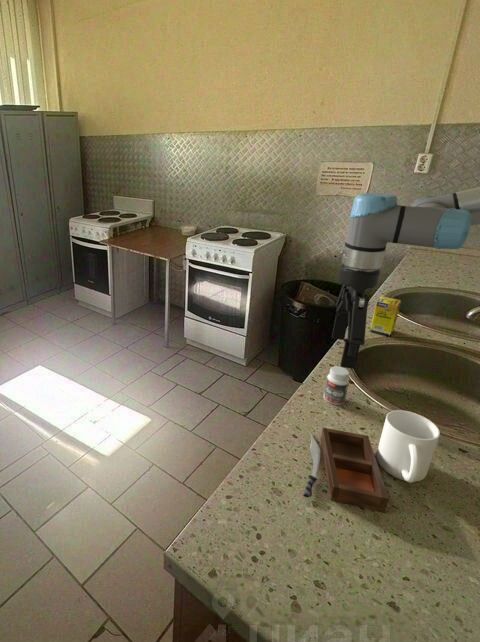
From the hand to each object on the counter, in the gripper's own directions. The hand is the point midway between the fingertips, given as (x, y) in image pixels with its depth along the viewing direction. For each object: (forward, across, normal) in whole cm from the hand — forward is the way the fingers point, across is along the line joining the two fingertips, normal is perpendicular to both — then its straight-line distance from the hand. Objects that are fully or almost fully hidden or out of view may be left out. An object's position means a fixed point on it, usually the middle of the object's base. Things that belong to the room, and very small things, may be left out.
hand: (342, 352), depth 93 cm
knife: (+13, +24, -7) cm, 28 cm away
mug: (+13, +21, +9) cm, 27 cm away
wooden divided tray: (+13, +24, 0) cm, 28 cm away
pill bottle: (+14, 0, 0) cm, 14 cm away
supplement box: (+14, -44, +20) cm, 50 cm away
